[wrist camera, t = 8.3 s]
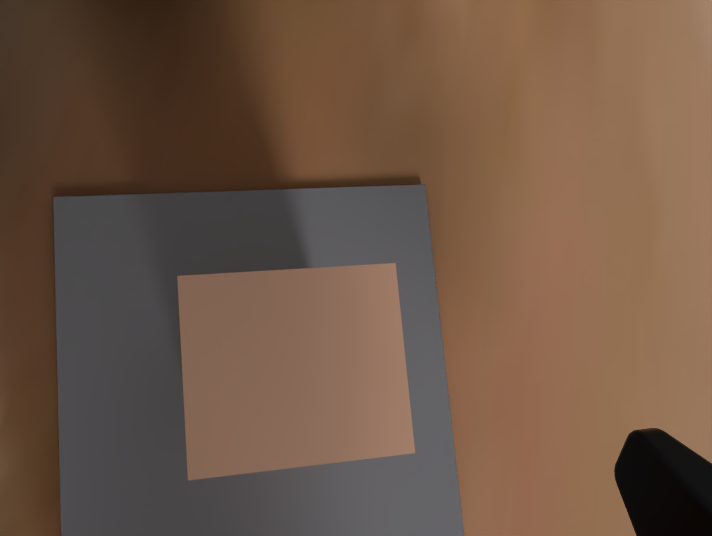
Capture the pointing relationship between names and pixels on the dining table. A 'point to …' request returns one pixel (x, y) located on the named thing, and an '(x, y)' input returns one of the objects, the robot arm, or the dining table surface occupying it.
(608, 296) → the dining table surface
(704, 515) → the robot arm
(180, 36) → the dining table surface
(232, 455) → the terracotta block
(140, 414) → the charcoal mat
